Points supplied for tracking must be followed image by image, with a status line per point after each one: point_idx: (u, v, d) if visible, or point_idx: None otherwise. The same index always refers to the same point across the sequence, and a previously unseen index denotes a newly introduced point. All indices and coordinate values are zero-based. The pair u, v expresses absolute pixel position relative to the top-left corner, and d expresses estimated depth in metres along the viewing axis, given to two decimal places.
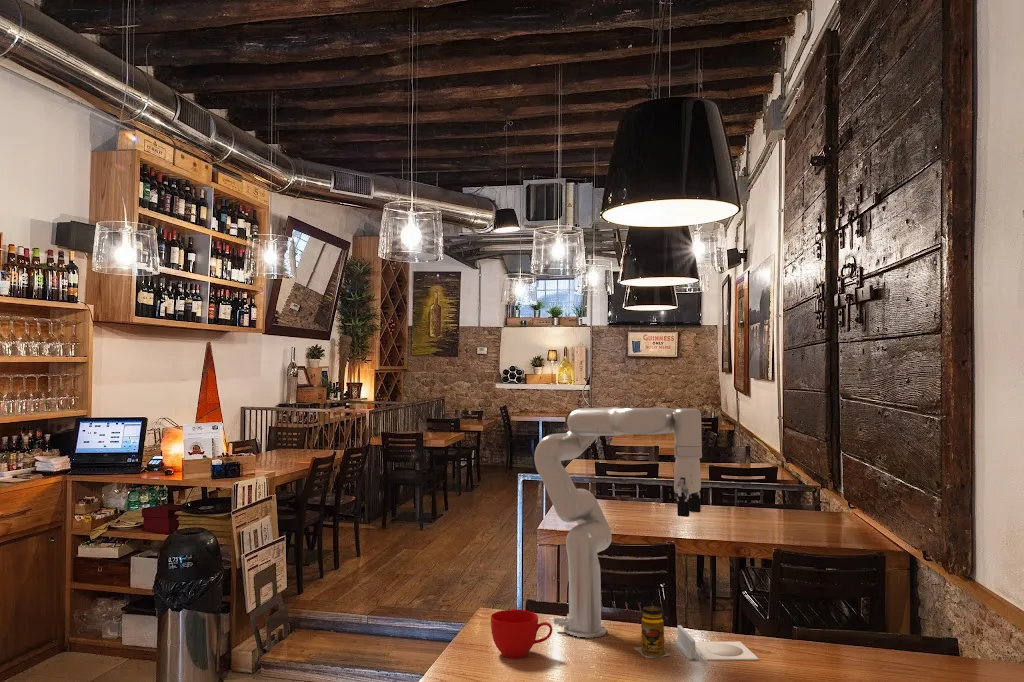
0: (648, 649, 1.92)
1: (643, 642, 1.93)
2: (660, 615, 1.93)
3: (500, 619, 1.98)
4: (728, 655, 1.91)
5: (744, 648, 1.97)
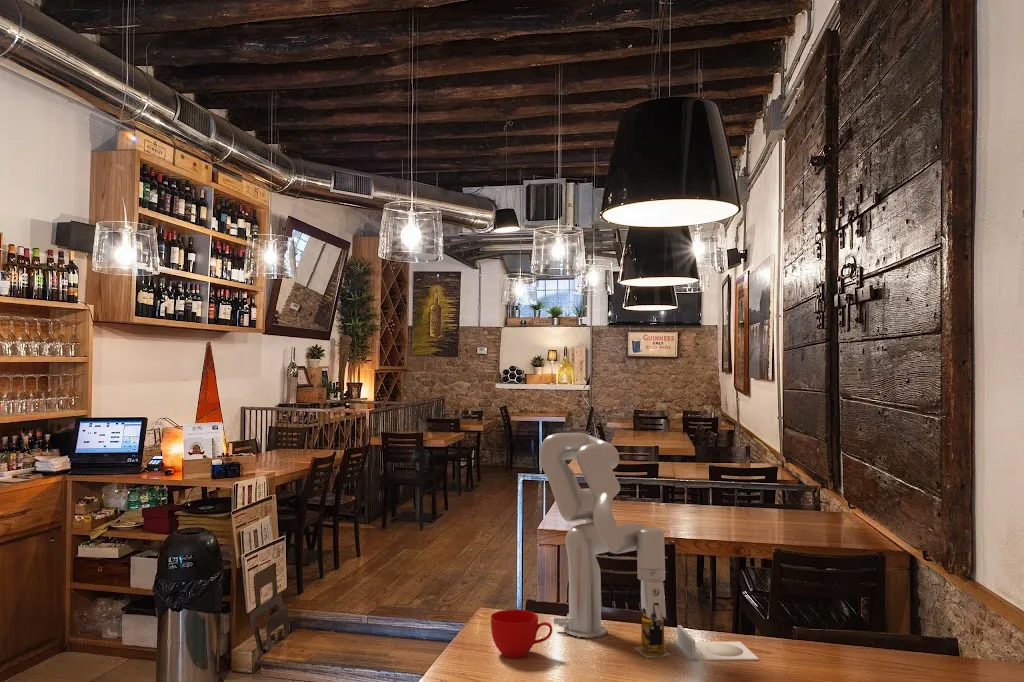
0: (648, 648, 1.92)
1: (643, 642, 1.94)
2: None
3: (500, 619, 1.98)
4: (728, 655, 1.91)
5: (744, 648, 1.97)
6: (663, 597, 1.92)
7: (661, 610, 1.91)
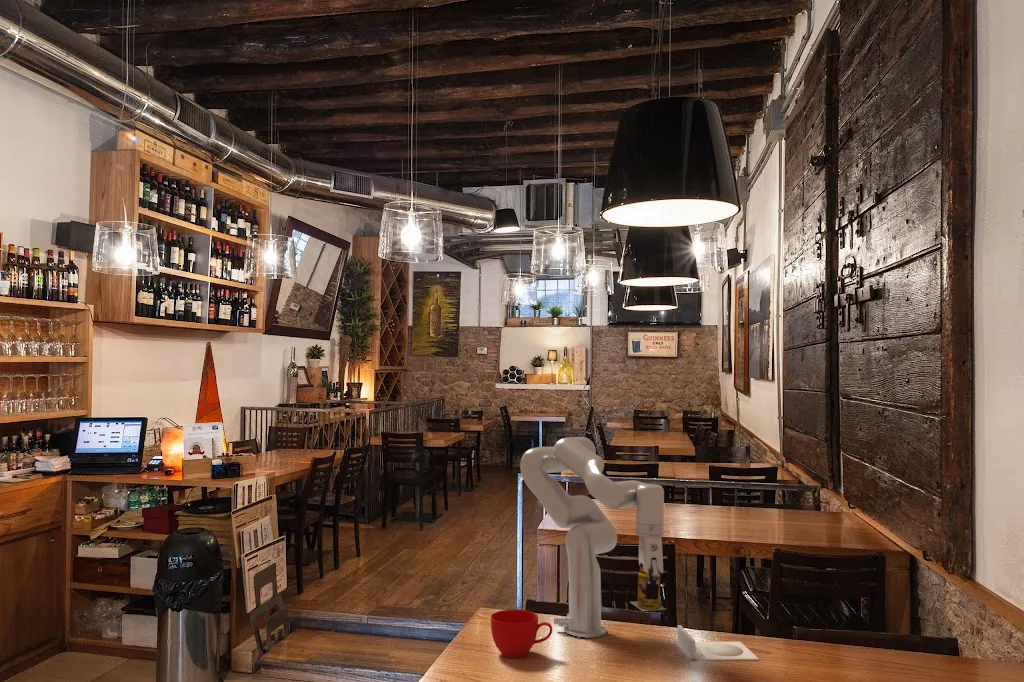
0: (643, 602, 1.94)
1: (639, 596, 1.96)
2: None
3: (500, 619, 1.98)
4: (728, 655, 1.91)
5: (744, 648, 1.97)
6: (661, 552, 1.93)
7: (658, 565, 1.92)
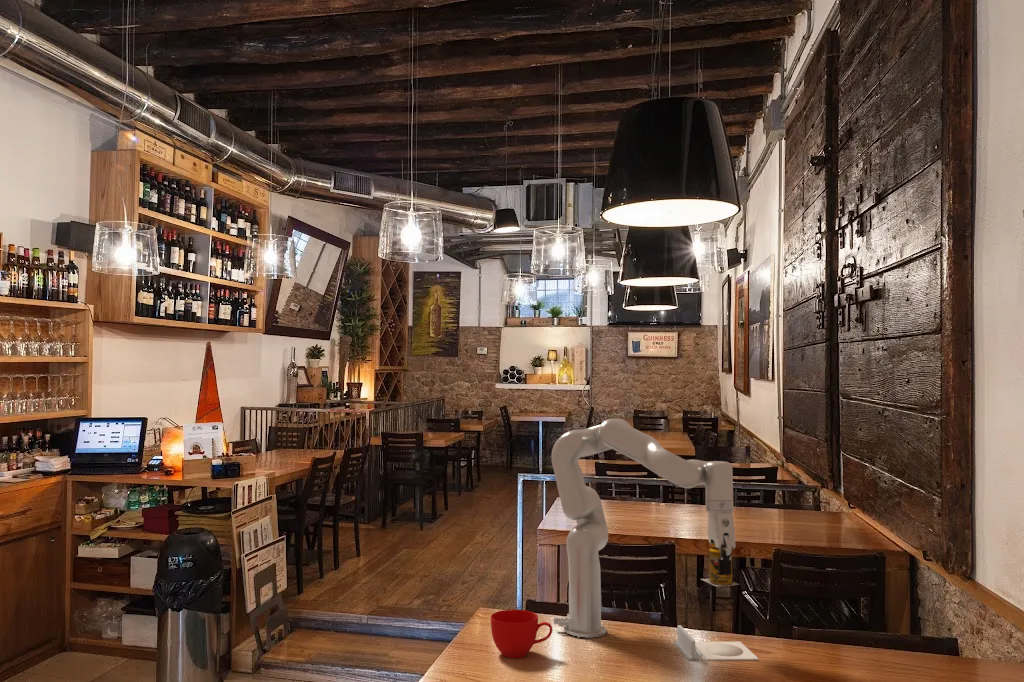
0: (716, 578, 1.95)
1: (711, 572, 1.97)
2: None
3: (500, 619, 1.98)
4: (728, 655, 1.91)
5: (744, 648, 1.97)
6: (733, 527, 1.94)
7: (731, 540, 1.94)
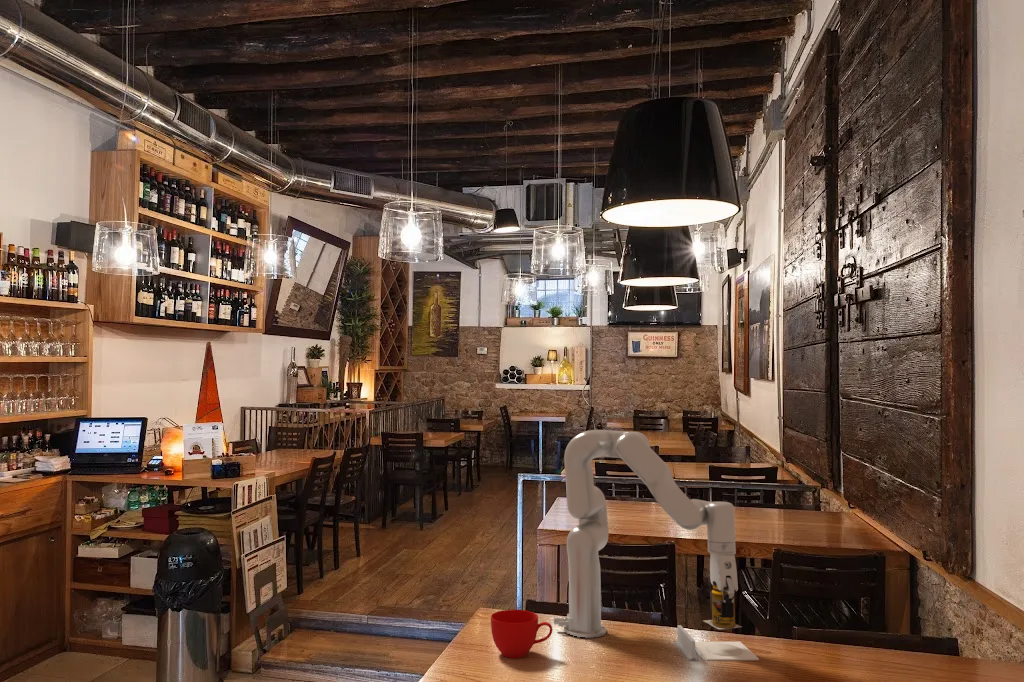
0: (719, 620, 1.94)
1: (714, 614, 1.96)
2: None
3: (500, 619, 1.98)
4: (728, 655, 1.91)
5: (744, 648, 1.97)
6: (735, 570, 1.93)
7: (733, 583, 1.92)
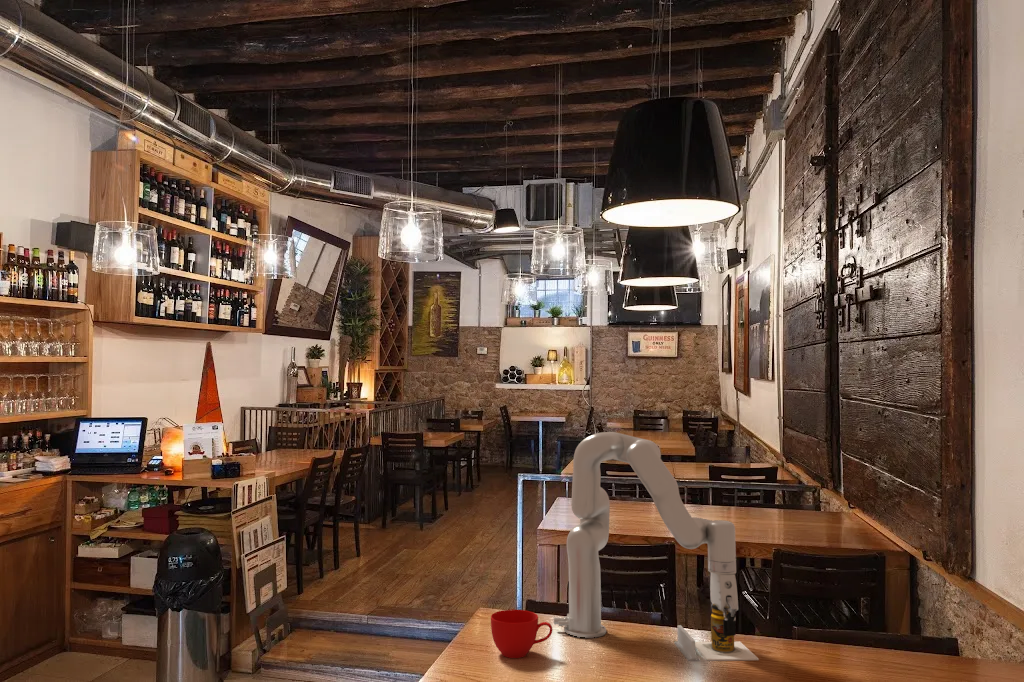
0: (718, 645, 1.94)
1: (713, 638, 1.95)
2: None
3: (500, 619, 1.98)
4: (728, 655, 1.91)
5: (744, 648, 1.97)
6: (735, 590, 1.93)
7: (734, 602, 1.92)
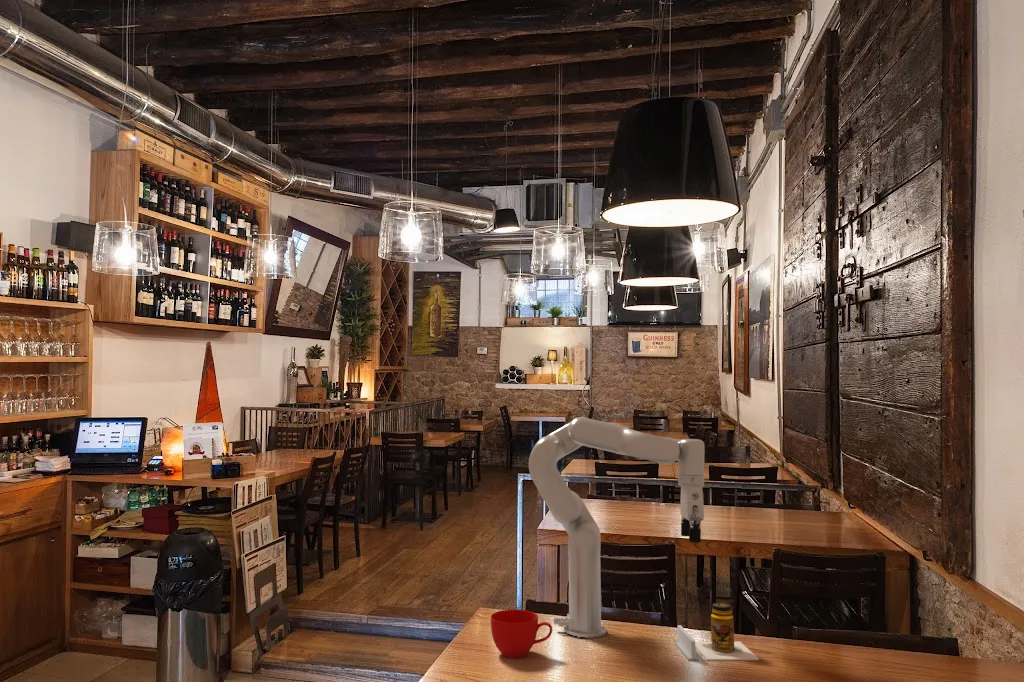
0: (718, 645, 1.94)
1: (713, 638, 1.95)
2: (730, 611, 1.95)
3: (500, 619, 1.98)
4: (728, 655, 1.91)
5: (744, 648, 1.97)
6: (702, 501, 2.07)
7: (700, 512, 2.06)
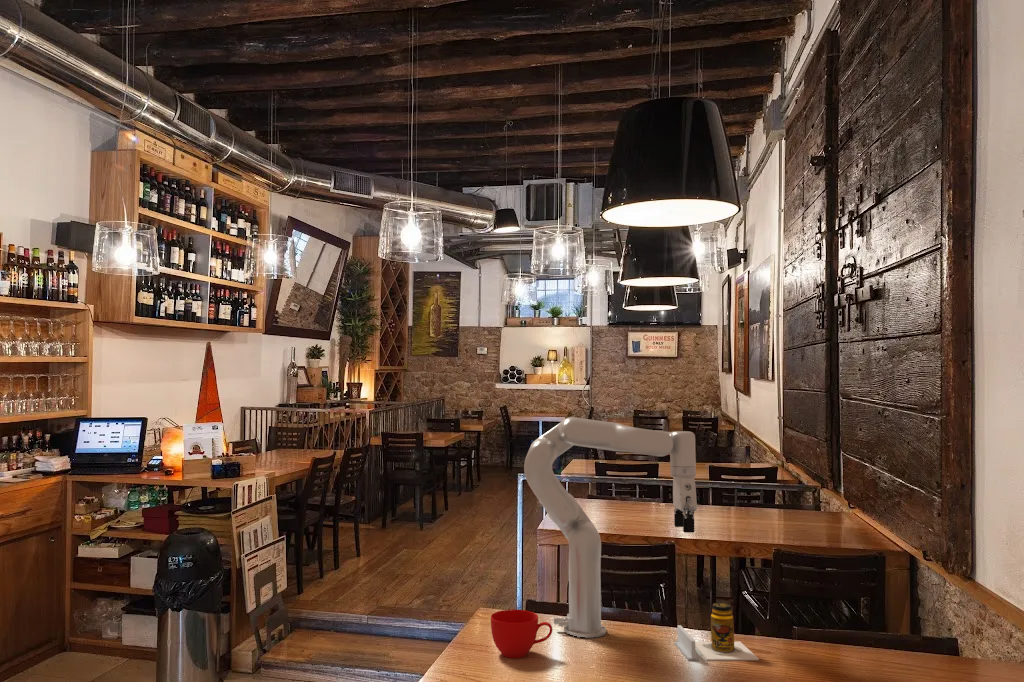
0: (718, 645, 1.94)
1: (713, 638, 1.95)
2: (730, 611, 1.95)
3: (500, 619, 1.98)
4: (728, 655, 1.91)
5: (744, 648, 1.97)
6: (694, 491, 2.11)
7: (693, 503, 2.10)
